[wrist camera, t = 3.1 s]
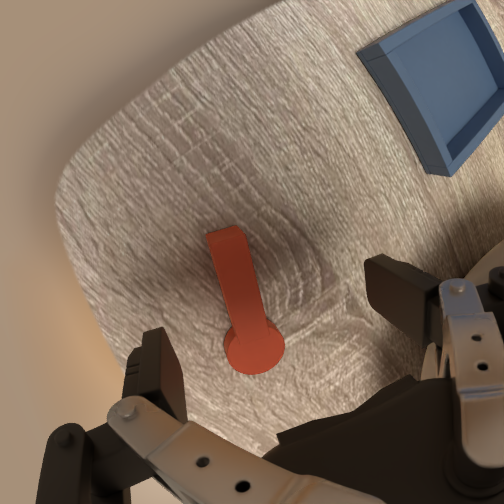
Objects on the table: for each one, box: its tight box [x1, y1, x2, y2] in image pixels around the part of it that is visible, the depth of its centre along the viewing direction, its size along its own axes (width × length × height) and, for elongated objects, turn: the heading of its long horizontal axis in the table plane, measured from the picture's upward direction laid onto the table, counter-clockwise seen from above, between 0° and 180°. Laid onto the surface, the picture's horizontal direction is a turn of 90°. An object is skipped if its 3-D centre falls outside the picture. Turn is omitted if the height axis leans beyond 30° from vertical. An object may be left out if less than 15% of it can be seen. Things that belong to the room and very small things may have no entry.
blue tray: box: [356, 0, 504, 177], centre depth 17 cm, size 10×14×2 cm
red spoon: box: [205, 225, 285, 375], centre depth 18 cm, size 9×4×2 cm, turn 13°
